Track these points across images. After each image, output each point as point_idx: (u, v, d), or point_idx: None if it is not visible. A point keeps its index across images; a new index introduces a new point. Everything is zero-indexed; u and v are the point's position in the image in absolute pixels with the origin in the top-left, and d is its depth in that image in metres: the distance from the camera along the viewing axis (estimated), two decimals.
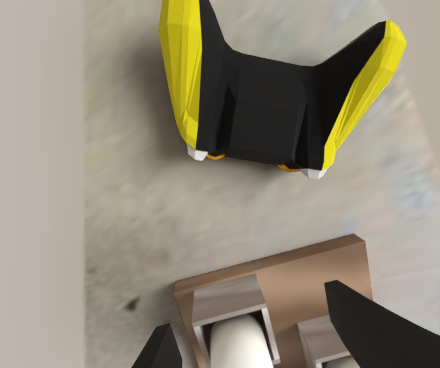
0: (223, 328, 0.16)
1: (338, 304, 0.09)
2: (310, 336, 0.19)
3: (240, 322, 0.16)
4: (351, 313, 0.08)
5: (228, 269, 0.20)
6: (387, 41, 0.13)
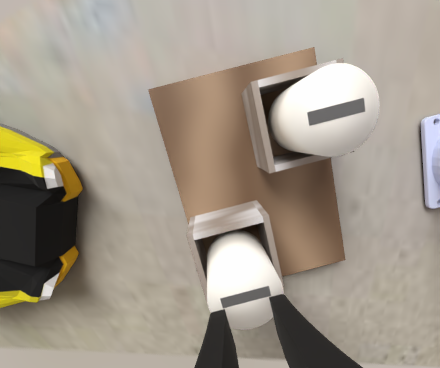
0: None
1: (277, 320, 0.09)
2: (260, 161, 0.16)
3: (207, 263, 0.15)
4: (284, 331, 0.08)
5: None
6: None
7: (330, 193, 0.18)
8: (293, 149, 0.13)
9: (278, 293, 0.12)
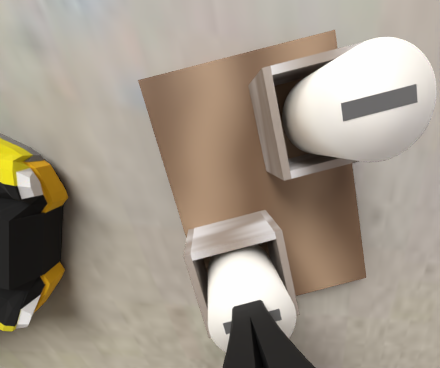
0: None
1: (252, 326, 0.09)
2: (271, 166, 0.13)
3: None
4: (257, 338, 0.08)
5: None
6: None
7: (350, 201, 0.16)
8: (315, 151, 0.10)
9: (290, 317, 0.10)
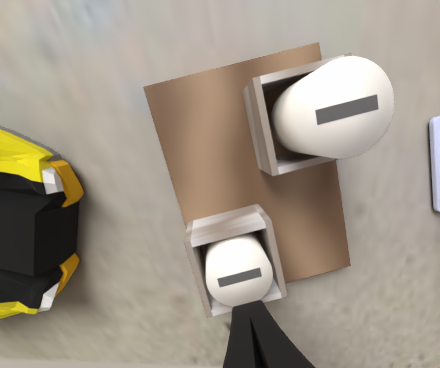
0: None
1: (252, 327, 0.09)
2: (262, 163, 0.15)
3: None
4: (257, 338, 0.08)
5: None
6: None
7: (335, 196, 0.17)
8: (298, 150, 0.12)
9: (268, 274, 0.13)
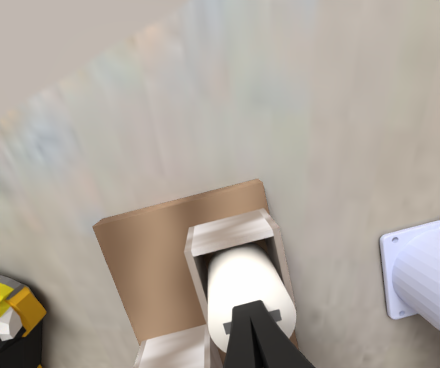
0: None
1: (252, 327, 0.09)
2: None
3: None
4: (257, 338, 0.08)
5: None
6: None
7: None
8: None
9: None
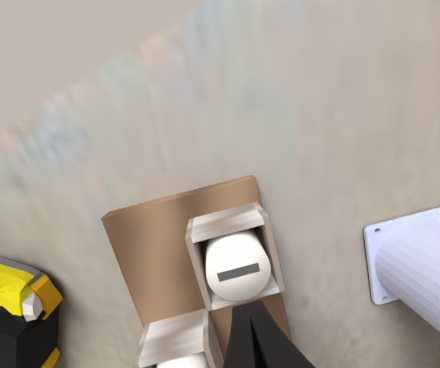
0: None
1: (252, 326, 0.09)
2: None
3: None
4: (257, 338, 0.08)
5: None
6: None
7: (277, 299, 0.19)
8: None
9: None
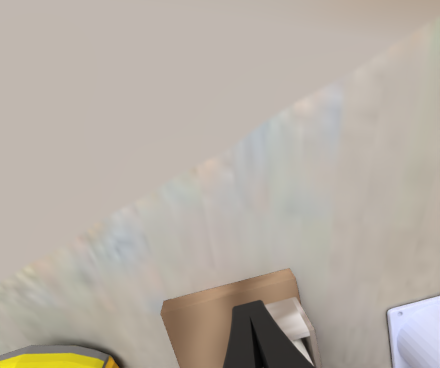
0: None
1: (252, 326, 0.09)
2: None
3: None
4: (257, 338, 0.08)
5: None
6: None
7: None
8: None
9: None
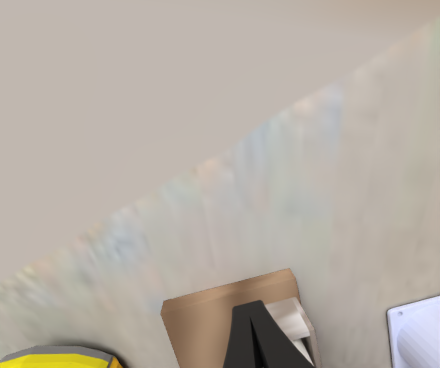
0: None
1: (252, 326, 0.09)
2: None
3: None
4: (257, 338, 0.08)
5: None
6: None
7: None
8: None
9: None
